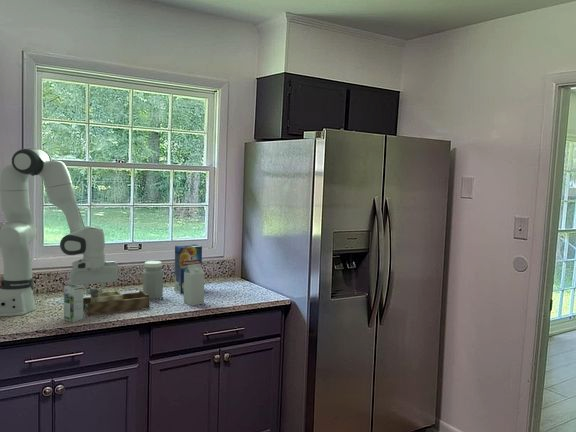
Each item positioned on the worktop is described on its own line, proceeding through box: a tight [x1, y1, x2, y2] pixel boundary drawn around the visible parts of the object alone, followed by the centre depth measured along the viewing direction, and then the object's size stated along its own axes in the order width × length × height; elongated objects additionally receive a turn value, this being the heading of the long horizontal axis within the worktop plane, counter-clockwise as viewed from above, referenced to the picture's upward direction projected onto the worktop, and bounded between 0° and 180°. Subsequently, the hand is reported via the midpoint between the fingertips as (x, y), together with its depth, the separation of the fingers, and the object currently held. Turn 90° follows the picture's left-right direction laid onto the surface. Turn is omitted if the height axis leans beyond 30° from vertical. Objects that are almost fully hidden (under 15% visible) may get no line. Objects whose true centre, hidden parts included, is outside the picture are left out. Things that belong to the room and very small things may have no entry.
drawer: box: [89, 286, 124, 303], centre depth 235 cm, size 13×9×9 cm
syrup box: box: [63, 283, 84, 323], centre depth 219 cm, size 6×6×14 cm
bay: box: [83, 289, 150, 317], centre depth 238 cm, size 27×12×6 cm, turn 124°
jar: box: [142, 260, 164, 301], centre depth 258 cm, size 10×10×18 cm
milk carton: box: [183, 264, 205, 306], centre depth 251 cm, size 7×7×19 cm
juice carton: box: [174, 244, 203, 295], centre depth 274 cm, size 12×8×24 cm, turn 128°
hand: (94, 293), depth 232 cm, fingers open, 4 cm apart
